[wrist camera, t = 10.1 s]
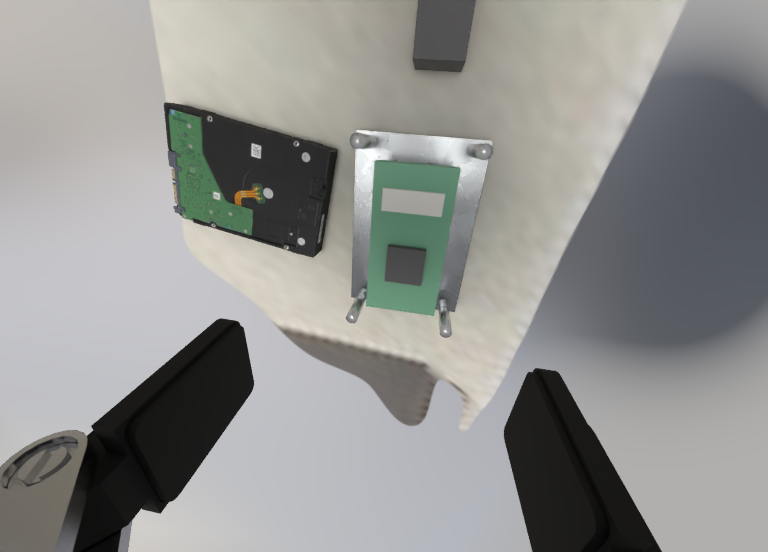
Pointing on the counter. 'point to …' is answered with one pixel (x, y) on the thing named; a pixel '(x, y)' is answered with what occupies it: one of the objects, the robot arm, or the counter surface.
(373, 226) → the board
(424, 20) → the block
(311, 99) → the counter surface
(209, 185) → the disk drive
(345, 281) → the counter surface
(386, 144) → the chassis
